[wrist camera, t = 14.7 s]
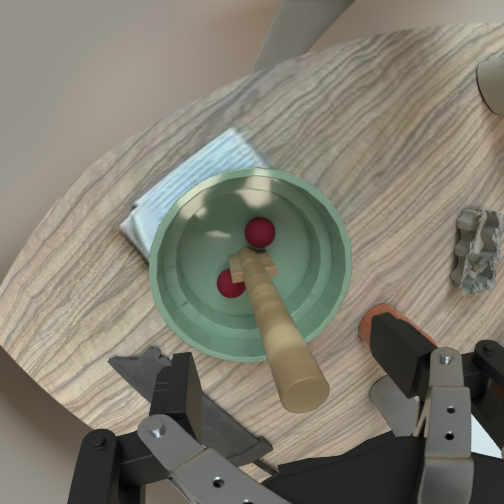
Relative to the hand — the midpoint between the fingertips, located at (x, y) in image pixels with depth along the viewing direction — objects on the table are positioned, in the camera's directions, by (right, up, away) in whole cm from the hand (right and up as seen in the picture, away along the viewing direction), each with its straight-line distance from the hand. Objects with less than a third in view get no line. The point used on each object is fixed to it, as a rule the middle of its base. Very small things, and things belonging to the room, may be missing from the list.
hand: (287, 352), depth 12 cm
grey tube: (+16, -14, +23) cm, 32 cm away
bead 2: (-1, +6, +13) cm, 14 cm away
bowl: (-2, +4, +15) cm, 16 cm away
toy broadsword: (-5, -19, +21) cm, 29 cm away
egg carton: (+27, +5, +19) cm, 33 cm away
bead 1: (-3, +1, +14) cm, 14 cm away
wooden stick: (-2, +4, +15) cm, 15 cm away
